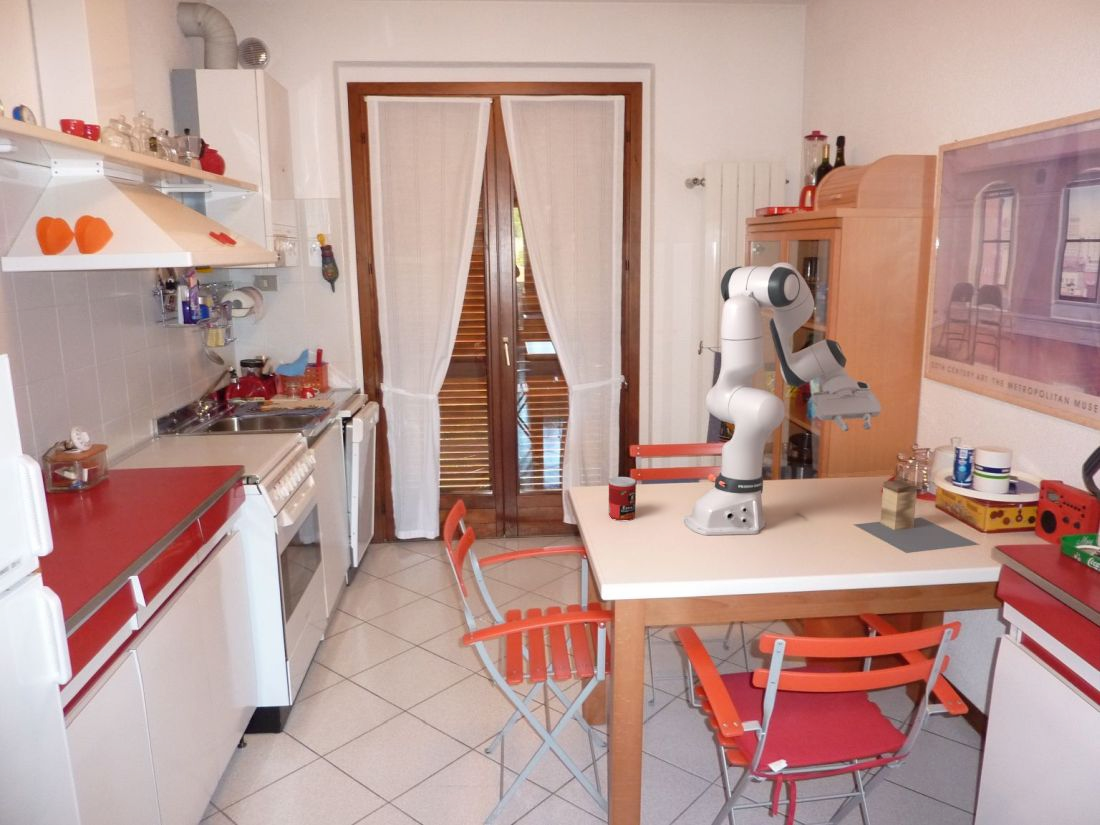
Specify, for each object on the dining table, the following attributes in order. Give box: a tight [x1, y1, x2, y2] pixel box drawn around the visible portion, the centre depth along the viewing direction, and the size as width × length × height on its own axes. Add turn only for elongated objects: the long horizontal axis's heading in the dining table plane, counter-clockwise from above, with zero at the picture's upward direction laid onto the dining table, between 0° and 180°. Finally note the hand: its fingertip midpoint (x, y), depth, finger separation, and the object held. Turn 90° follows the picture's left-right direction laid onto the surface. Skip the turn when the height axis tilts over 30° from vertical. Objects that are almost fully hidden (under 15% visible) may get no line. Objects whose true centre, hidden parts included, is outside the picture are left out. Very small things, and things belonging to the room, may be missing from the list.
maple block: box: [879, 479, 918, 530], centre depth 220 cm, size 6×6×12 cm
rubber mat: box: [852, 517, 980, 554], centre depth 215 cm, size 22×22×1 cm
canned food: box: [608, 476, 637, 521], centre depth 231 cm, size 8×8×11 cm
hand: (857, 429), depth 236 cm, fingers open, 6 cm apart
